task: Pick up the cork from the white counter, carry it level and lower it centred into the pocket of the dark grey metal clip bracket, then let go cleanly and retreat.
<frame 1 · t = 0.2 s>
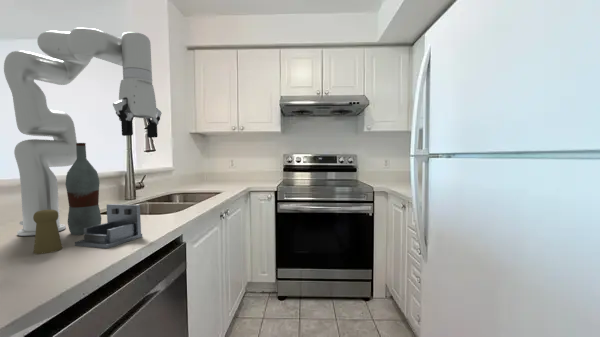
hand: (140, 136, 88), 31 cm above the worktop, tool pointing down, fingers open, 9 cm apart
clip bracket: (110, 240, 89), on the worktop
cork: (48, 251, 81), on the worktop
bottle: (85, 232, 101), on the worktop
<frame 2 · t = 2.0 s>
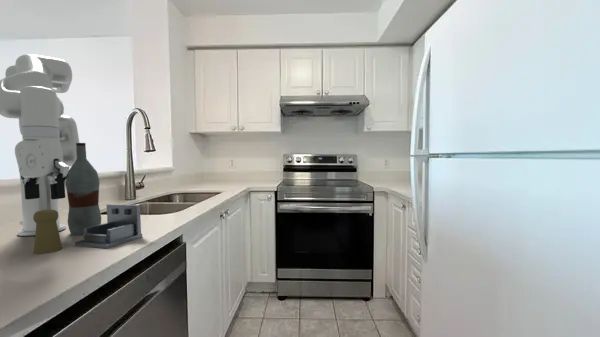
hand: (45, 198, 80), 14 cm above the worktop, tool pointing down, fingers open, 9 cm apart
nothing on the worktop moved.
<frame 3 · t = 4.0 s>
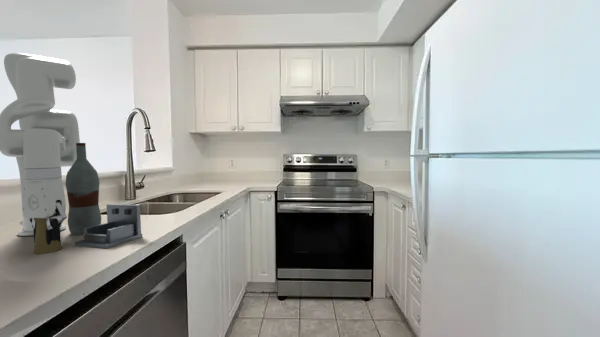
hand: (47, 241, 81), 2 cm above the worktop, tool pointing down, fingers closed on cork, 3 cm apart
cork: (48, 250, 81), on the worktop, touching gripper
everything else where it was.
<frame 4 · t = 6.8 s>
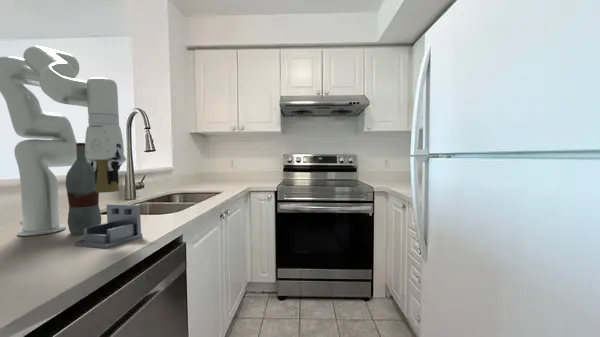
hand: (107, 183, 88), 17 cm above the worktop, tool pointing down, fingers closed on cork, 3 cm apart
cork: (107, 192, 88), point 15 cm above the worktop, touching gripper
everything else where it was.
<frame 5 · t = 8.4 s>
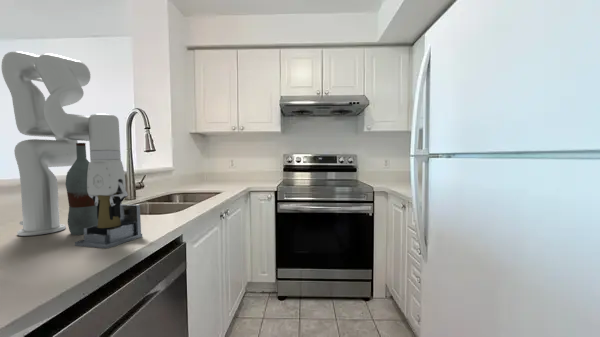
hand: (109, 218, 89), 7 cm above the worktop, tool pointing down, fingers closed on cork, 3 cm apart
cork: (109, 226, 89), point 4 cm above the worktop, touching gripper
everything else where it was.
when the fingers open (5 cm above the worktop, at t = 9.5 s): cork drops 2 cm, resting on clip bracket.
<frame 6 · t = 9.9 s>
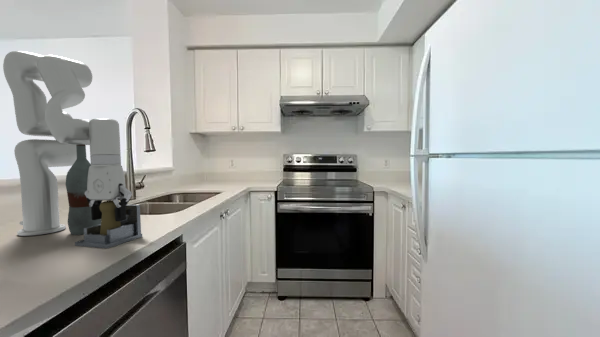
hand: (109, 219, 89), 6 cm above the worktop, tool pointing down, fingers open, 8 cm apart
cork: (111, 238, 89), point 1 cm above the worktop, touching clip bracket
everything else where it was.
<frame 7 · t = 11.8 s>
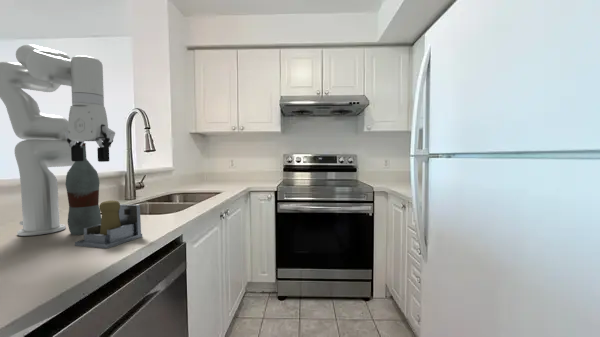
hand: (90, 161, 87), 24 cm above the worktop, tool pointing down, fingers open, 9 cm apart
nothing on the worktop moved.
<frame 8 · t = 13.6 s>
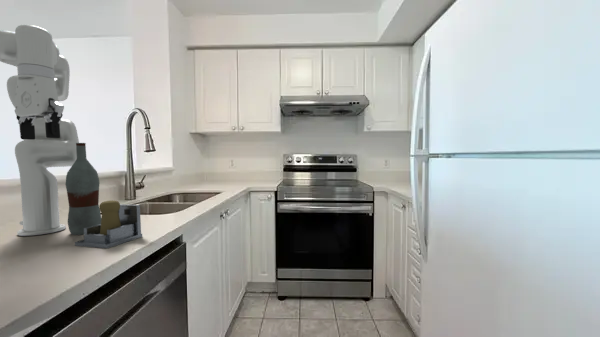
hand: (40, 138, 81), 30 cm above the worktop, tool pointing down, fingers open, 9 cm apart
nothing on the worktop moved.
at the end: cork 0.7 cm off-centre on the clip bracket, point 0.8 cm above the clip bracket's base; cork tilted 0°; the gripper is holding nothing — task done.
